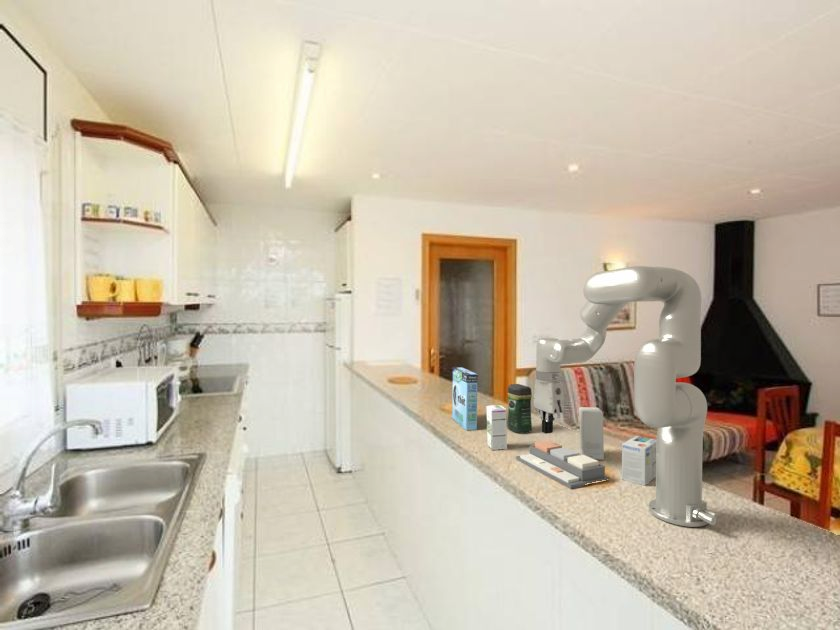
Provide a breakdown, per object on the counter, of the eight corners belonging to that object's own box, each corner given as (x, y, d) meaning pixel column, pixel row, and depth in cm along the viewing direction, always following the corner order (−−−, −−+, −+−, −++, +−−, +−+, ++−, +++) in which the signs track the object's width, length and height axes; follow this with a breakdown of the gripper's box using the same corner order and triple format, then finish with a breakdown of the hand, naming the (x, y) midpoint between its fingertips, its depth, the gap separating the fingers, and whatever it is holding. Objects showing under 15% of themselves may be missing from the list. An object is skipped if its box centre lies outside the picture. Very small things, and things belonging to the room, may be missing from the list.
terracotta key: (562, 453, 141) (562, 445, 141) (546, 456, 138) (546, 448, 138) (549, 447, 146) (549, 440, 146) (534, 450, 144) (534, 442, 144)
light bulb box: (634, 469, 134) (634, 434, 134) (658, 475, 129) (658, 439, 129) (620, 479, 127) (621, 442, 126) (645, 486, 122) (646, 447, 122)
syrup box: (507, 449, 153) (507, 408, 153) (491, 450, 152) (491, 409, 152) (501, 444, 159) (501, 404, 159) (486, 445, 158) (486, 405, 158)
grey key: (579, 461, 134) (579, 453, 134) (563, 464, 131) (563, 455, 131) (565, 455, 139) (565, 447, 139) (550, 457, 137) (550, 449, 137)
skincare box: (604, 460, 142) (604, 412, 142) (582, 459, 143) (582, 411, 143) (598, 452, 150) (599, 406, 150) (578, 451, 151) (578, 406, 151)
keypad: (609, 480, 126) (609, 466, 126) (570, 488, 120) (570, 474, 120) (550, 453, 149) (550, 441, 149) (516, 459, 143) (515, 447, 143)
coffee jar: (535, 432, 173) (535, 385, 173) (518, 435, 170) (518, 387, 170) (521, 426, 182) (521, 382, 182) (504, 428, 179) (504, 383, 179)
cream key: (598, 469, 127) (598, 461, 127) (582, 472, 124) (582, 464, 124) (583, 462, 132) (583, 454, 132) (567, 465, 130) (567, 457, 130)
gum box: (452, 419, 195) (451, 367, 195) (463, 418, 196) (462, 367, 196) (466, 431, 176) (466, 374, 176) (478, 430, 177) (478, 373, 177)
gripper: (573, 379, 136) (572, 437, 137) (542, 372, 150) (541, 425, 151) (554, 381, 134) (553, 440, 134) (524, 373, 147) (523, 427, 148)
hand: (547, 432), depth 143 cm, fingers closed
